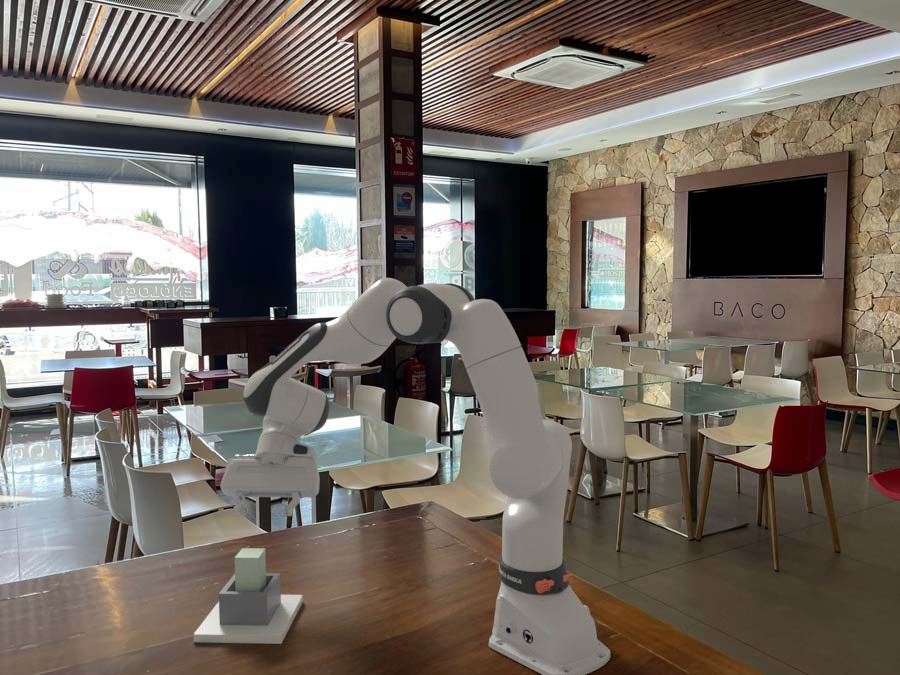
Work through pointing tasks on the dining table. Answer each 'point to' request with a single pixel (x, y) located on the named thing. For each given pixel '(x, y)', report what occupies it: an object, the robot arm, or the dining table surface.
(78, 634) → the dining table surface
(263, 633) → the well stand
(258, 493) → the robot arm
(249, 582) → the sage block
